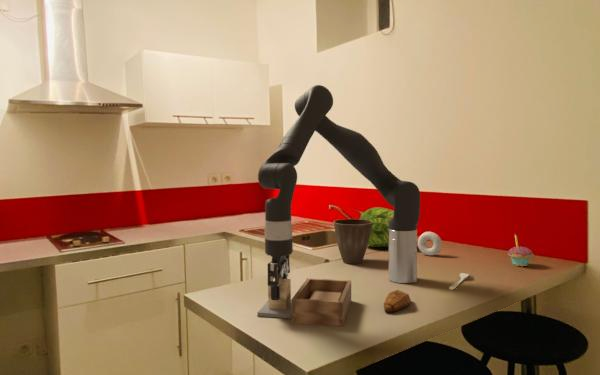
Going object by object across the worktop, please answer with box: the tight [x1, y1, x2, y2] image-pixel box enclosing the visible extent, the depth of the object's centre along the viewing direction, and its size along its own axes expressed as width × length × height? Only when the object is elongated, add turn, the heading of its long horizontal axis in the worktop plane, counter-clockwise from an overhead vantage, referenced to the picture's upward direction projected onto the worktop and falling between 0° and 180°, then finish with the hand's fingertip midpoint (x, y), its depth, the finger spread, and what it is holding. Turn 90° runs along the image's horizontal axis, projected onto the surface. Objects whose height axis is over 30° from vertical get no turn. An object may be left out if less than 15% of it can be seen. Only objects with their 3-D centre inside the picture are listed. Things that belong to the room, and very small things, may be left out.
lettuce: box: [359, 206, 394, 248], centre depth 206 cm, size 19×23×18 cm
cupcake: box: [507, 233, 535, 265], centre depth 170 cm, size 9×8×12 cm
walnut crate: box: [291, 278, 352, 327], centre depth 124 cm, size 13×20×6 cm, turn 168°
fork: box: [449, 272, 472, 288], centre depth 150 cm, size 3×21×3 cm, turn 144°
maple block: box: [267, 278, 292, 310], centre depth 126 cm, size 5×5×7 cm
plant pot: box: [333, 218, 372, 265], centre depth 180 cm, size 15×15×16 cm
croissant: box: [383, 289, 411, 313], centre depth 127 cm, size 14×7×5 cm, turn 144°
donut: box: [417, 231, 443, 256], centre depth 189 cm, size 10×4×10 cm, turn 55°
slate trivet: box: [256, 300, 292, 319], centre depth 126 cm, size 9×12×1 cm
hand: (279, 295), depth 126 cm, fingers open, 8 cm apart
